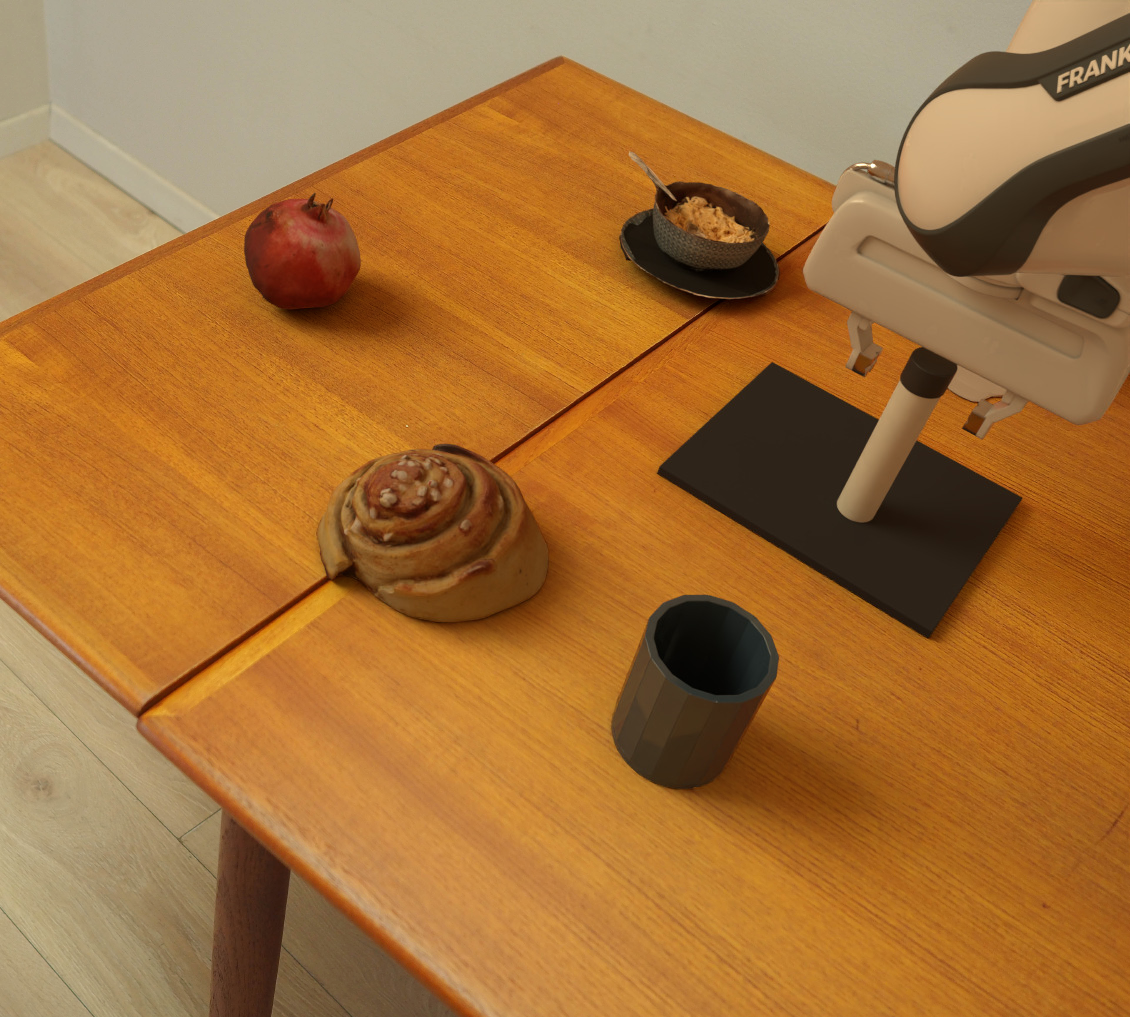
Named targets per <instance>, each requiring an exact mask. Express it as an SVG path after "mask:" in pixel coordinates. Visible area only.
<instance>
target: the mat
mask: <svg viewBox="0 0 1130 1017" xmlns="http://www.w3.org/2000/svg"><path fill="white" fill-rule="evenodd" d="M879 419H880V418H876V417H875V416H873V415H871V414H870V413H867V412H866V411H864V410H862V409H860V408H859V407H857V406H854V405H853V404H851V403H849V402H847V401H845V400H844V399H841V398H840V397H838V396H836V395H834V394H833V393H831V392H828V391H827V390H825V389H824V388H821V387H820V386H817V385H816V384H814V383H812V382H810V381H809V380H807V379H805V378H802V377H801V376H799V375H798V374H795V373H794V372H792V371H790V370H789V369H786V368H784V367H782V366H781V365H780V364H777V363H775V362H773V361H772V362H770V363H769V364H768V365H767V366H765V368H763V370H761V372H759V373H758V374H757V375H756V376H755V377H754V378H753V379H752V380H751V381H750V382H749V383H748V384H746V386H744V387H743V388H742V389H741V390H740V391H739V392H738V393H737V394H736V395H734V397H732V398H731V399H730V400H729V401H728V402H727V403H726V404H725V405H724V406H723V407H722V408H721V409H720V410H719V411H717V412H716V413H715V414H714V415H713V416H712V417H711V418H710V419H709V420H708V421H706V422H705V424H703V425H702V426H701V427H700V428H699V429H698V430H697V431H695V433H693V434H692V436H690V437H689V438H688V439H687V440H686V441H685V442H684V443H683V444H682V445H680V446H679V447H678V449H676V450H675V451H674V452H673V453H672V454H671V455H670V456H669V457H668V458H667V459H666V460H664V461H663V462H662V463H661V464H660V465H659V467H658V470H657V472H656V473H657V475H659V476H661V477H662V478H665V479H666V480H667V481H669V482H670V483H672V484H674V485H676V486H677V487H678V488H681V489H682V490H683V491H685V492H687V493H689V494H690V495H692V496H693V497H695V498H697V500H700V501H701V502H703V503H705V504H707V505H708V506H710V507H711V508H713V509H715V510H716V511H718V512H720V513H721V514H723V515H725V516H726V517H727V518H729V519H731V520H733V521H734V522H736V523H738V524H739V525H741V526H743V527H745V528H746V529H747V530H749V531H751V532H753V533H754V534H755V535H757V536H759V537H761V538H762V539H764V540H765V541H767V542H769V543H771V544H772V545H774V546H776V547H777V548H778V549H781V550H782V551H784V552H785V553H787V554H788V555H790V556H792V557H793V558H795V559H797V560H798V561H800V562H802V563H803V564H805V565H806V566H808V567H810V568H811V569H813V570H815V571H816V572H818V573H820V574H821V575H823V576H825V577H826V578H828V579H830V580H831V581H833V582H835V583H836V584H838V585H839V586H841V587H843V588H845V589H846V590H848V591H849V592H851V593H853V594H854V595H856V596H857V597H859V598H861V599H862V600H863V601H865V602H867V603H869V604H870V605H872V606H873V607H876V608H877V609H879V610H880V611H882V612H884V613H885V614H887V615H889V616H891V617H892V618H893V619H895V620H897V621H899V622H900V623H902V624H903V625H905V626H906V627H908V628H910V629H911V630H912V631H915V632H916V633H918V634H920V635H921V636H923V637H925V638H926V639H929V638H930V637H931V636H932V634H933V632H935V630H936V628H937V627H938V626H939V624H940V622H941V621H942V620H943V619H944V616H945V615H946V614H947V612H948V610H949V609H950V608H951V606H952V605H953V603H954V602H955V600H956V599H957V597H958V595H959V594H960V593H961V591H962V590H963V588H964V587H965V586H966V584H967V582H968V581H969V579H970V578H971V576H972V575H973V574H974V572H975V571H976V569H977V567H978V566H979V564H980V563H981V561H982V560H983V558H984V557H985V556H986V554H987V553H988V551H989V549H990V548H991V547H992V545H993V543H994V542H995V541H996V540H997V538H998V536H999V535H1000V533H1001V532H1002V530H1003V529H1004V527H1005V525H1006V524H1007V523H1008V522H1009V520H1010V518H1011V516H1012V515H1013V514H1014V512H1015V511H1016V510H1017V508H1018V506H1019V505H1020V504H1021V502H1022V501H1023V496H1021V495H1018V494H1017V493H1015V492H1013V491H1012V490H1009V489H1008V488H1006V487H1004V486H1002V485H1000V484H998V483H996V482H995V481H993V480H991V479H989V478H987V477H985V476H983V475H982V474H981V473H978V472H976V471H975V470H972V469H971V468H969V467H967V466H966V465H963V464H962V463H959V462H958V461H957V460H954V459H952V458H950V457H949V456H947V455H944V454H943V453H941V452H940V451H938V450H936V449H934V448H932V447H930V446H929V445H927V444H925V443H923V442H921V441H920V440H918V439H917V440H916V442H915V444H914V446H913V448H912V449H911V451H910V453H909V455H908V457H907V458H906V460H905V462H904V464H903V466H902V467H901V469H900V471H899V473H898V474H897V476H896V478H895V480H894V482H893V483H892V485H891V487H890V489H889V491H888V492H887V494H886V496H885V498H884V500H883V501H882V503H881V505H880V507H879V509H878V510H877V512H876V514H875V516H874V517H873V519H872V520H870V521H868V522H862V523H861V522H855V521H852V520H850V519H848V518H846V517H845V516H843V515H842V514H841V513H840V511H839V510H838V507H837V501H838V499H839V497H840V495H841V493H842V491H843V489H844V487H845V485H846V483H847V481H848V479H849V477H850V475H851V473H852V471H853V469H854V468H855V466H856V464H857V462H858V460H859V458H860V456H861V454H862V452H863V450H864V448H865V446H866V444H867V442H868V440H869V438H870V437H871V435H872V433H873V431H874V429H875V427H876V425H877V423H878V421H879Z"/></svg>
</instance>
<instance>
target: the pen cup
mask: <svg viewBox="0 0 1130 1017" xmlns="http://www.w3.org/2000/svg"><path fill="white" fill-rule="evenodd" d="M779 661H780V656H779V653H778V650H777V646H776V643H775V642H774V639H773V636H772V634H771V633H770V632H769V631H768V630H767V628H766V627H765V626H764V625H763V623H761V621H760V620H759V619H758V617H756V616H755V615H754V614H752V613H751V612H749V611H748V610H746V609H744V608H743V607H741V605H739V604H737V603H735V602H733V601H730V600H727V599H724V598H720V597H718V596H715V595H711V594H681V595H679V596H677V597H674V598H672V599H671V598H670V599H669V600H666V601H664V602H662V603H661V604H660V605H659V606H658V607H657V608H656V609H655V610H654V611H653V613H652V614H651V615H649V617H648V620H647V622H646V625H645V628H644V630H643V632H642V635H641V638H640V640H639V643H638V645H637V648H636V651H635V653H634V656H633V659H632V661H631V664H630V666H629V668H628V672H627V674H626V677H625V679H624V682H623V684H622V687H621V689H620V692H619V695H618V697H617V699H616V703H615V706H614V709H613V713H612V715H611V723H610V724H611V736H612V740H613V743H614V745H615V747H616V750H617V751H618V753H619V755H620V756H621V758H622V759H623V760H624V762H625V763H626V764H627V765H628V766H629V767H630V768H631V769H632V770H633V771H634V772H635V773H637V774H638V775H640V776H641V777H642V778H644V779H645V780H647V781H650V782H652V783H654V784H657V785H659V786H662V787H666V788H670V789H675V790H676V789H677V790H688V789H696V788H701V787H703V786H706V785H708V784H710V783H712V782H713V781H715V780H716V779H718V778H719V777H720V776H721V775H722V774H723V772H725V770H726V768H727V766H728V765H729V763H730V762H731V761H732V760H733V758H734V756H735V754H736V752H737V750H738V749H739V748H740V747H739V746H740V745H741V743H742V742H743V740H744V738H745V736H746V735H747V733H748V731H749V729H750V727H751V726H752V723H753V721H754V720H755V718H756V716H757V714H758V713H759V711H760V709H761V707H762V705H763V703H764V702H765V699H766V698H767V697H768V694H769V692H770V691H771V689H772V686H773V685H774V683H775V681H776V679H777V677H778V670H779Z"/></svg>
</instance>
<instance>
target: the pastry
mask: <svg viewBox="0 0 1130 1017" xmlns="http://www.w3.org/2000/svg"><path fill="white" fill-rule="evenodd" d="M315 535H316V540H317V542H318V546H319V549H320V550H319V557H320V561H321V562H322V565H323V567H324V572H325V575H326V576H327V579H329V580H335V579H336V578H337V577H341V576H344V577H349V578H353V579H356V581H357V580H358V582H360V583H361V584H363V585H364V586H365V588H366V589H368V590H369V591H370V593H371V594H372V595H373V596H374V597H376V598H377V599H379V600H380V601H382V602H383V603H385V604H386V605H388V606H389V607H391V608H392V609H394V610H396V611H398V612H400V613H402V614H404V615H406V616H408V617H411V618H415V619H419V620H425V621H430V622H437V623H463V622H470V621H477V620H482V619H485V618H487V617H490V616H493V615H494V614H497V613H499V612H502V611H504V610H507V609H509V608H512V607H515V606H517V605H519V604H522V603H523V602H526V601H527V600H529V599H531V598H532V597H534V596H535V595H536V594H537V593H538V592H539V591H540V590H541V588H542V586H543V585H544V583H545V580H546V577H547V574H548V571H549V570H548V568H549V549H548V545H547V543H546V541H545V540H544V537H543V535H542V532H541V530H540V526H539V525H538V522H537V521H536V519H535V516H534V514H533V512H532V510H531V508H530V506H529V505H528V503H527V502H526V500H525V498H524V496H523V494H522V491H521V489H520V488H519V486H518V484H517V482H516V481H515V480H514V479H513V478H512V476H510V475H509V474H508V472H506V471H505V470H504V469H502V468H500V467H499V466H498V465H496V464H495V463H493V462H492V461H490V460H489V459H487V458H486V457H484V456H483V455H481V454H479V453H476V452H475V451H473V450H470V449H467V448H465V447H463V446H460V445H457V444H453V443H438V444H435V445H433V447H432V448H431V449H428V448H413V449H407V450H402V451H399V452H393V453H389V454H386V455H381V456H378V457H375V458H372V459H370V460H368V461H367V462H365V463H363V464H362V465H361V466H359V467H357V468H356V469H354V471H352V472H351V473H350V474H349V475H348V476H347V477H345V478H344V480H342V481H341V482H340V483H339V484H338V485H336V487H335V488H334V489H333V491H332V492H331V495H330V497H329V499H328V503H327V506H326V510H325V512H324V513H323V515H322V517H321V518H320V520H319V523H318V526H317V529H316V533H315Z"/></svg>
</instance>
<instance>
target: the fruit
mask: <svg viewBox="0 0 1130 1017" xmlns="http://www.w3.org/2000/svg"><path fill="white" fill-rule="evenodd" d="M316 195H317V193H316V192H313V193H312V194H311V195H310V197H309V198H287V199H284V200H281V201H278V202H274V203H273V204H270V205H269V206H267V207H265V208H264V209H263V210H262V211H260V213H259V214H257V216H256V217H255V218H254V219H253V220H252V222H251V223H250V225H249V226H248V227H247V230H246V231H245V234H244V243H243V247H244V248H243V254H244V259H245V260H244V261H245V265H246V266H245V267H246V268H247V272H248V275H249V278H250V281H251V283H252V285H253V287H254V288H255V290H256V291H258V293H259V294H260V295H261V297H262V299H264V300H265V301H266V302H268V303H269V304H272V305H274V306H275V307H276V308H279V309H283V310H296V309H297V310H298V309H308V308H316V309H319V308H325V307H329V306H332V305H333V304H335V303H337V302H339V301H340V300H341V299H342V298H344V296H345V295H346V294H347V293H348V291H349V290H350V288H351V286H352V285H353V283H354V280H355V279H356V277H357V275H358V273H359V272H360V270H361V267H362V266H361V265H362V259H361V251H360V248H359V243H358V240H357V237H356V235H355V232H354V230H353V228H352V226H351V224H350V222H349V220H348V219H347V218H346V216H344V215H343V214H342V213H341V212H340V211H338V210H336V209H335V208H333V207H332V205H333V203H334V198H333V197H332V198H330V199H329V200H328V201H327V202H326V204H325V203H322V202H318V201H316V200H315V198H316V197H317V196H316Z"/></svg>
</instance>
